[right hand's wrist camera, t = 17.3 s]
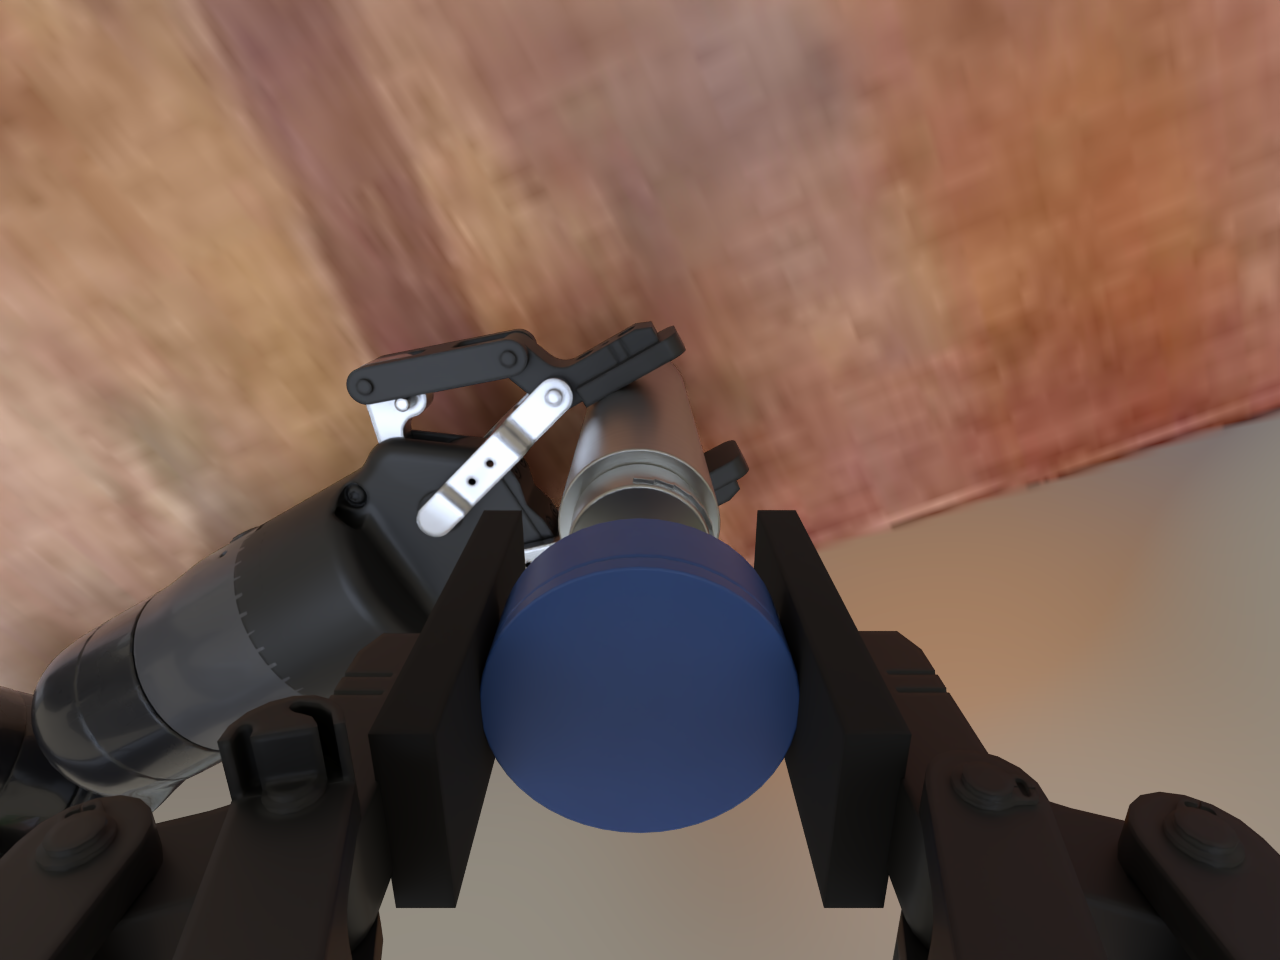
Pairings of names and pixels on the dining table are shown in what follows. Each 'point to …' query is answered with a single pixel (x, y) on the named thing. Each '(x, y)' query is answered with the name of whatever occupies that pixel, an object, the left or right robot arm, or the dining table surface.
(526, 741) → the lid
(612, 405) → the metal flask
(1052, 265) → the dining table surface
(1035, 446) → the dining table surface
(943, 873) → the right robot arm
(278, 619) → the left robot arm
